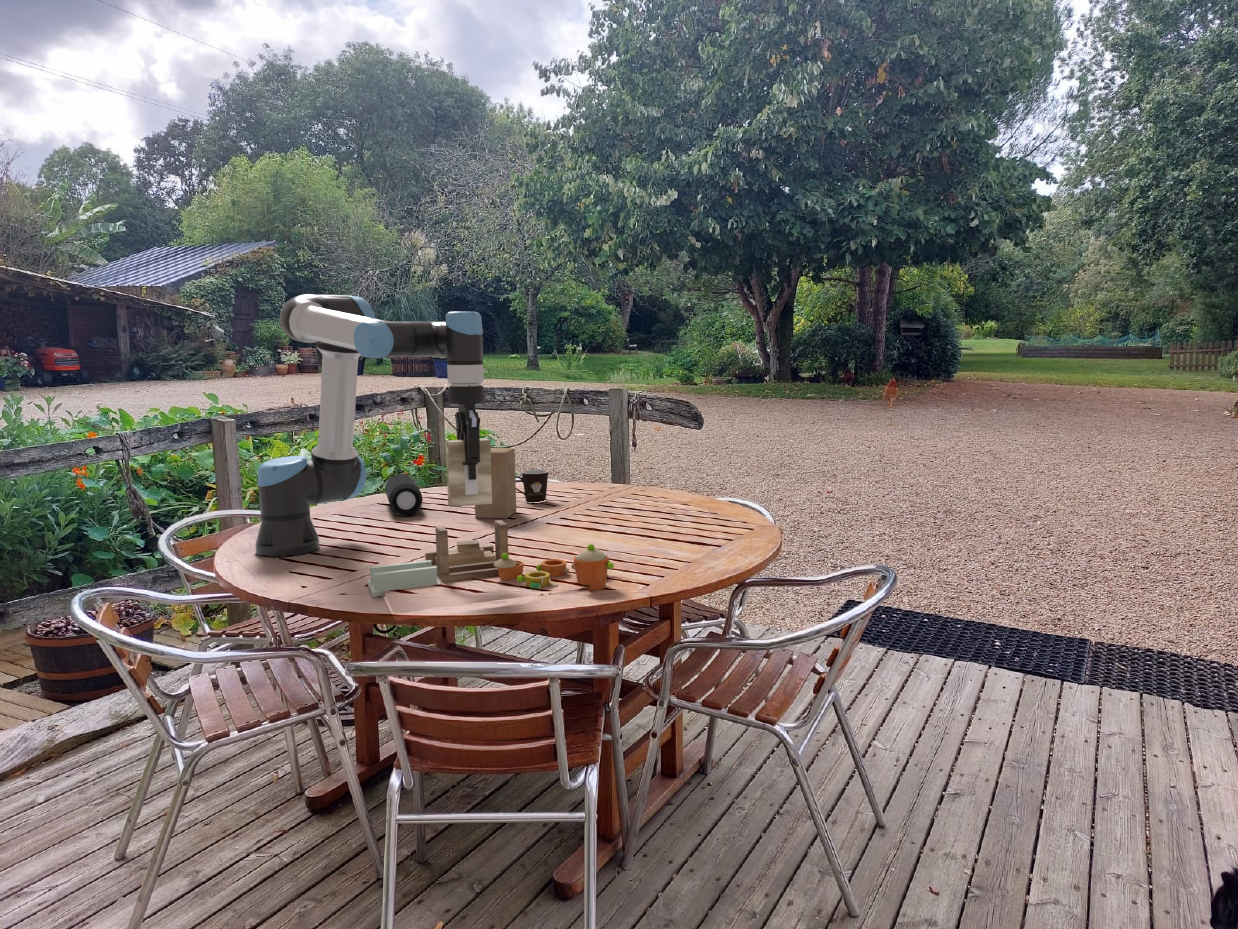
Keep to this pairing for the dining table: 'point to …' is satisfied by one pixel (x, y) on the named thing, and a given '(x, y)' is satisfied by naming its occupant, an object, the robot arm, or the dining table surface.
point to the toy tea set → (560, 570)
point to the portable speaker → (403, 495)
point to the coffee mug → (534, 485)
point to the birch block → (457, 475)
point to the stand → (401, 576)
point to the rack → (467, 555)
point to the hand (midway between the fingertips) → (469, 492)
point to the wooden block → (500, 486)
